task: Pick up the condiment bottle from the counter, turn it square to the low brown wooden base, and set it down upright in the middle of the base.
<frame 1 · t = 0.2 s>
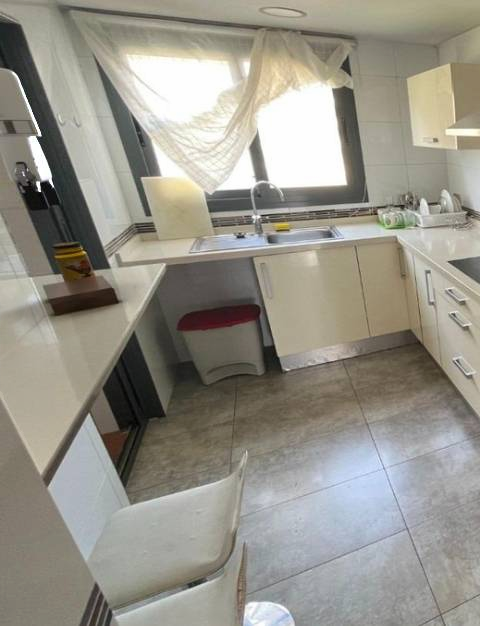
hand: (46, 207, 108), 22 cm above the countertop, tool pointing down, fingers open, 9 cm apart
condiment: (80, 288, 123), on the countertop
brown wooden base: (83, 301, 113), on the countertop
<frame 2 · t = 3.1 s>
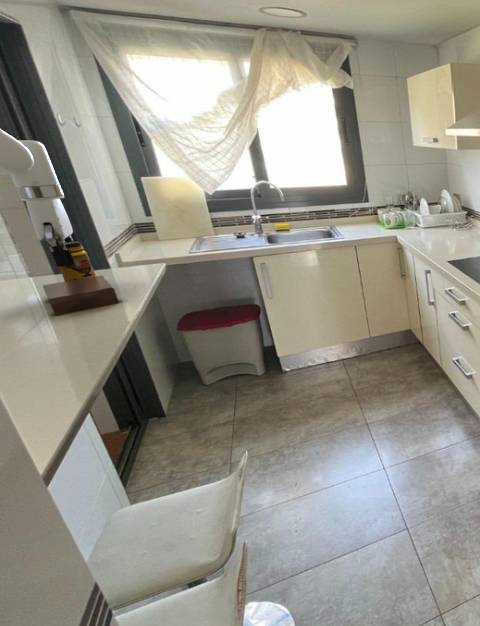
hand: (69, 262, 121), 7 cm above the countertop, tool pointing down, fingers closed on condiment, 6 cm apart
condiment: (80, 287, 124), on the countertop, touching gripper
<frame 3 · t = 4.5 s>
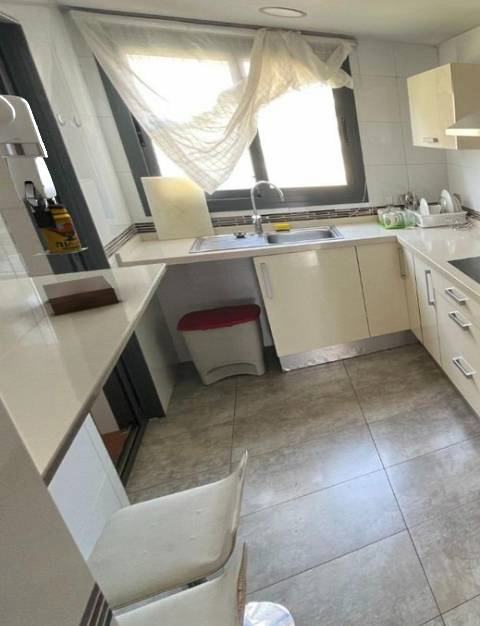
hand: (51, 225, 117), 17 cm above the countertop, tool pointing down, fingers closed on condiment, 6 cm apart
condiment: (62, 252, 119), point 10 cm above the countertop, touching gripper
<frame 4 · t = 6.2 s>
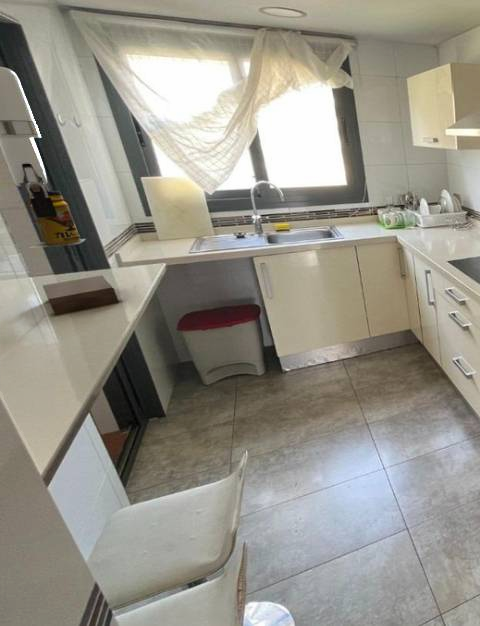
hand: (46, 214, 105), 21 cm above the countertop, tool pointing down, fingers closed on condiment, 6 cm apart
condiment: (59, 245, 107), point 14 cm above the countertop, touching gripper
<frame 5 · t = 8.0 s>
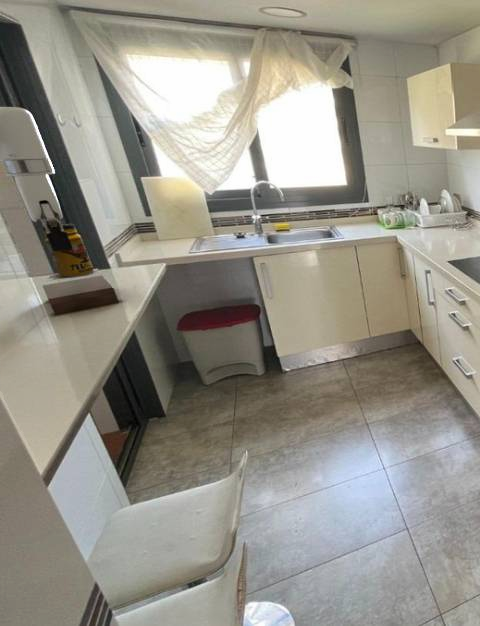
hand: (61, 247, 108), 14 cm above the countertop, tool pointing down, fingers closed on condiment, 6 cm apart
condiment: (73, 276, 110), point 7 cm above the countertop, touching gripper
when the fingers open (11 cm above the countertop, at t = 9.3 s): condiment stays where it is, resting on brown wooden base.
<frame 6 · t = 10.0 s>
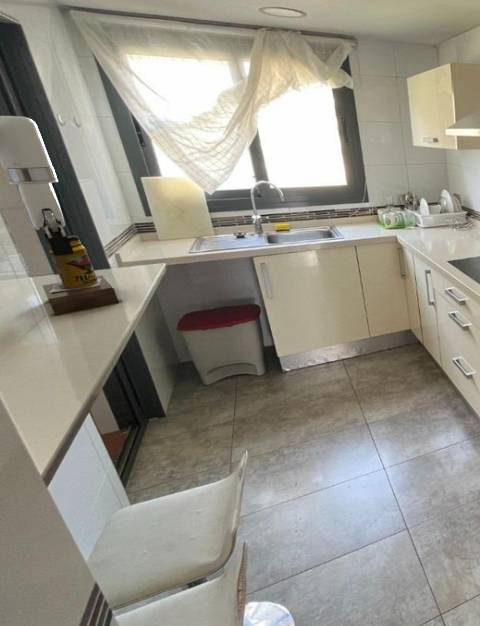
hand: (62, 251, 108), 13 cm above the countertop, tool pointing down, fingers open, 9 cm apart
condiment: (77, 286, 111), point 4 cm above the countertop, touching brown wooden base
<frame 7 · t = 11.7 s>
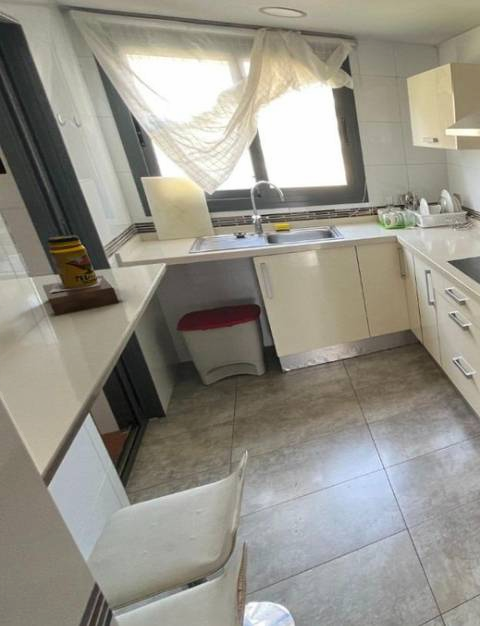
nothing on the countertop moved.
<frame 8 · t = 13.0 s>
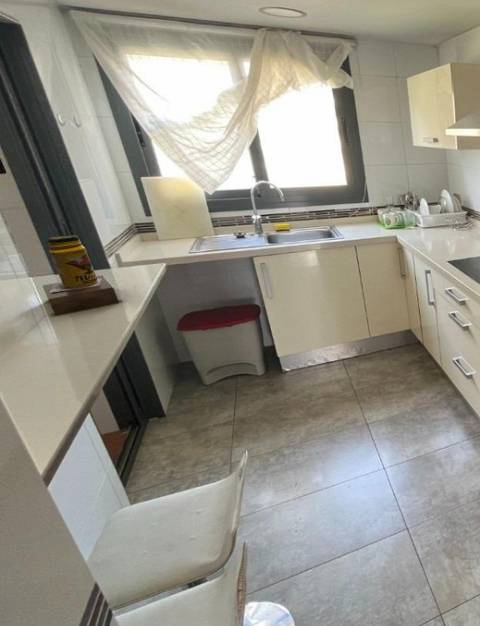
nothing on the countertop moved.
at the end: condiment 0.1 cm off-centre on the brown wooden base, point 3.8 cm above the brown wooden base's base; condiment tilted 0° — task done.
